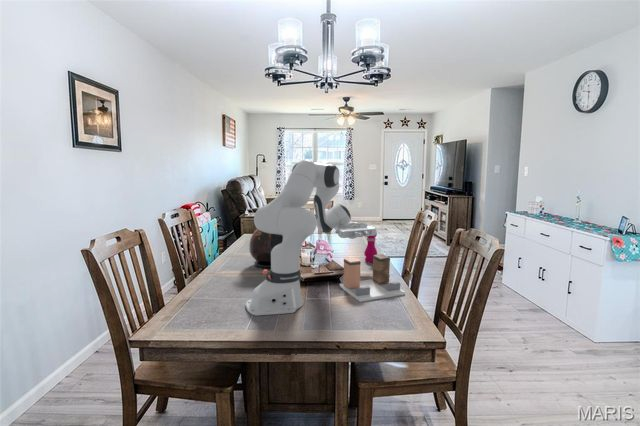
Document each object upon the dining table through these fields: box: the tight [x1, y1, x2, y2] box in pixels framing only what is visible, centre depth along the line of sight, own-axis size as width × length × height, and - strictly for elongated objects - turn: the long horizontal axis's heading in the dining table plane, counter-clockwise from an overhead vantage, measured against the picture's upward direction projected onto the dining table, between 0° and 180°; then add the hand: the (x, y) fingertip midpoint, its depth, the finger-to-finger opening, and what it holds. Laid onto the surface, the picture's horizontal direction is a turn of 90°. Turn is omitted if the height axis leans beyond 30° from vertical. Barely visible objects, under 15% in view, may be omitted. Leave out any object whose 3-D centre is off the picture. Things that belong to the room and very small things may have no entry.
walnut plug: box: [372, 253, 391, 284], centre depth 163 cm, size 5×6×12 cm
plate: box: [339, 278, 406, 303], centre depth 157 cm, size 22×19×4 cm
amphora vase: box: [248, 228, 283, 270], centre depth 191 cm, size 22×22×28 cm
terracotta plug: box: [343, 256, 362, 289], centre depth 157 cm, size 5×6×12 cm
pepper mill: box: [363, 231, 378, 264], centre depth 200 cm, size 7×7×20 cm
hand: (364, 235), depth 175 cm, fingers closed
